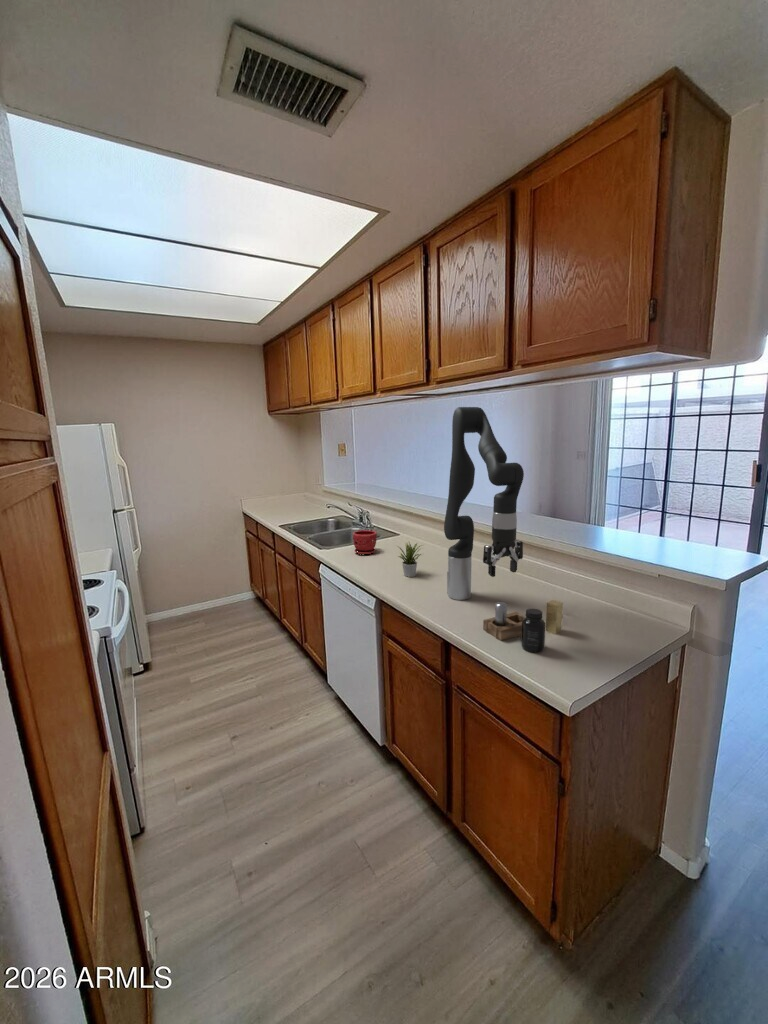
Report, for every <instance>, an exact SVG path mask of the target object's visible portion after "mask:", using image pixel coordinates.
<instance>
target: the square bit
mask: <svg viewBox="0 0 768 1024" xmlns="http://www.w3.org/2000/svg"><path fill="white" fill-rule="evenodd" d="M563 605H564V602H561V601H558V600H554V599H551V600H549V601H547V602H546V613H545V614H546V615H545V632H547V633H550V634H553V635H558V634H559V633H560V632H562V627H563V626H562V622H563Z"/></svg>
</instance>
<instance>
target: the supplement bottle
mask: <svg viewBox="0 0 768 1024" xmlns="http://www.w3.org/2000/svg"><path fill="white" fill-rule="evenodd" d="M520 644H521V647H522V649H523V650H524V651H527V652H529V653H541V652H543V651H544V650H545V645H546V621H545V620H544V619H543V611H542V610H540V609H538V608H527V609H526V610H525V618H524V619H523V620H522V635H521V643H520Z"/></svg>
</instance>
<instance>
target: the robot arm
mask: <svg viewBox="0 0 768 1024" xmlns="http://www.w3.org/2000/svg"><path fill="white" fill-rule="evenodd" d="M451 421H452V425H451V426H452V428H451V431H452V432H451V435H452V436H451V438H452V439H451V443H452V444H451V447H452V448H451V461H450V468H449V481H448V483H449V484H448V496H447V497H448V498H447V504H446V511H445V516H444V522H443V524H444V526H443V531H444V536H445V538H446V540H450V541H456V540H457V542H456V543H455V544H453V545H452V546H450V547H449V548H448V550H447V551H448V552H447V555H448V557H447V559H448V563H447V564H448V566H447V567H448V568H447V569H448V570H447V573H446V576H447V577H446V579H447V580H446V583H447V584H446V591H447V592H446V594H447V596H448V597H449V598H450V599H453V600H456V601H466V600H468V599H471V597H472V558H473V557H472V554H473V550H474V549H473V548H474V536H475V524H474V521H473V518H472V517H471V516H470V515H459V512H460V509H461V506H462V505H463V503H464V502H465V500H466V498H467V497H468V496H469V494H470V493H471V491H472V489H473V488H474V483H475V474H476V466H475V465H474V464H475V463H474V462H473V460H472V458H471V456H470V455H469V453H468V451H467V450H468V449H466V444H465V434H473V433H474V434H475V433H476V434H478V435H479V436H480V438H479V442H478V445H477V447H478V452H479V455H480V457H481V459H482V460H483V462H484V463H485V466H486V470H487V475H488V480H489V482H490V483H491V484H492V485H493V486H496V487H505V486H506V487H505V489H504V490H503V491H501V492H498V493H496V494H495V495H493V512H492V518H491V519H492V520H491V521H492V523H491V539H492V544H491V545H487V544H485V545H484V546H483V555H482V563H483V564H485V565H488V566H487V567H488V568H487V569H488V571H487V572H488V575H489V576H490V577H491V578H494V577H495V578H496V564H497V562H498V561H500V560H501V558H505V557H509V559H510V561H509V562H510V563H509V571H510V572H512V573H514V574H515V573H517V570H518V562H519V560H522V559H524V546H523V545H524V543H523V541H521V540H518V539H517V529H518V528H517V526H518V525H517V524H518V518H517V505H518V504H517V502H518V501H517V500H518V497H519V494H520V492H521V491H520V490H521V487H522V484H523V482H524V478H525V476H524V475H525V473H524V468H523V467H522V465H521V464H520V463H518V462H507V461H508V456H507V453H506V452H505V450H504V449H503V447H502V446H501V444H500V443H499V442H498V440H497V438H496V436H495V433H494V431H493V429H492V426H491V423H490V421H489V419H488V417H487V414H486V412H485V411H484V410H483V408H481V407H478V406H477V407H476V406H459V407H455V409H454V411H453V414H452V420H451Z"/></svg>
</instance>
